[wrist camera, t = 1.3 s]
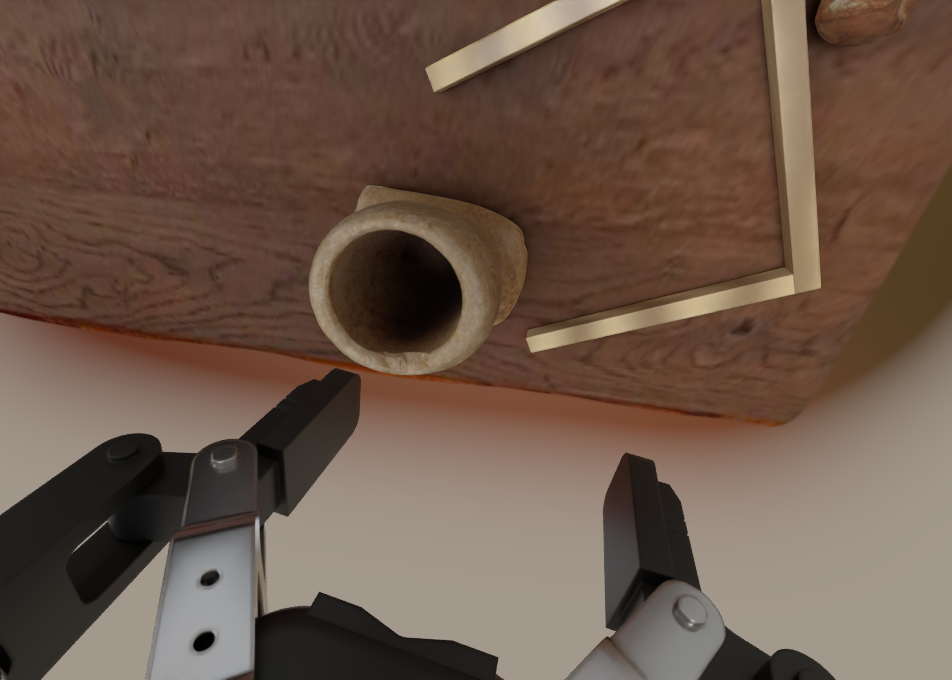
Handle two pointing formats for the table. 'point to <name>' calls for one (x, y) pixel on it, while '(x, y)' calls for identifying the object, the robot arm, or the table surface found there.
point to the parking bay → (792, 156)
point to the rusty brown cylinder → (860, 19)
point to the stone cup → (415, 280)
